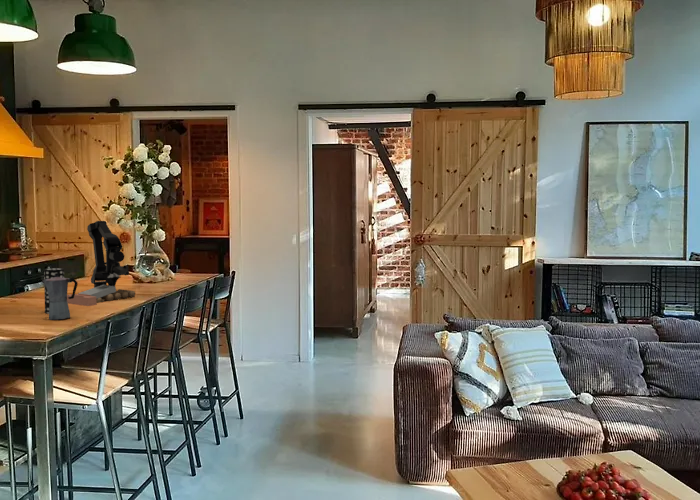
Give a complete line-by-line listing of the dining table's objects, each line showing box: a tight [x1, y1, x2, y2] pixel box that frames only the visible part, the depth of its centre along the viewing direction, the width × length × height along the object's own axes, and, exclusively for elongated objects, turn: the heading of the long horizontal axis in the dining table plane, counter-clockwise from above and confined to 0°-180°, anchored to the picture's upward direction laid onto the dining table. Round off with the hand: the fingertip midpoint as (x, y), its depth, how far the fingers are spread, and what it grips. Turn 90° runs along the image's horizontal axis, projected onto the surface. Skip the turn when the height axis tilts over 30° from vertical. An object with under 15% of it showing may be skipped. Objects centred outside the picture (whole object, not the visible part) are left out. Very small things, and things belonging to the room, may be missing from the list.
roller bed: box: [100, 288, 136, 303], centre depth 343 cm, size 10×28×4 cm, turn 153°
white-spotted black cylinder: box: [43, 267, 65, 315], centre depth 303 cm, size 8×8×20 cm
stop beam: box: [67, 293, 98, 307], centre depth 328 cm, size 16×5×4 cm, turn 63°
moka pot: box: [41, 273, 79, 321], centre depth 289 cm, size 10×15×20 cm, turn 95°
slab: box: [77, 284, 117, 299], centre depth 338 cm, size 9×16×3 cm, turn 151°
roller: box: [96, 298, 103, 304], centre depth 335 cm, size 8×3×3 cm, turn 63°
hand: (112, 290), depth 346 cm, fingers closed
